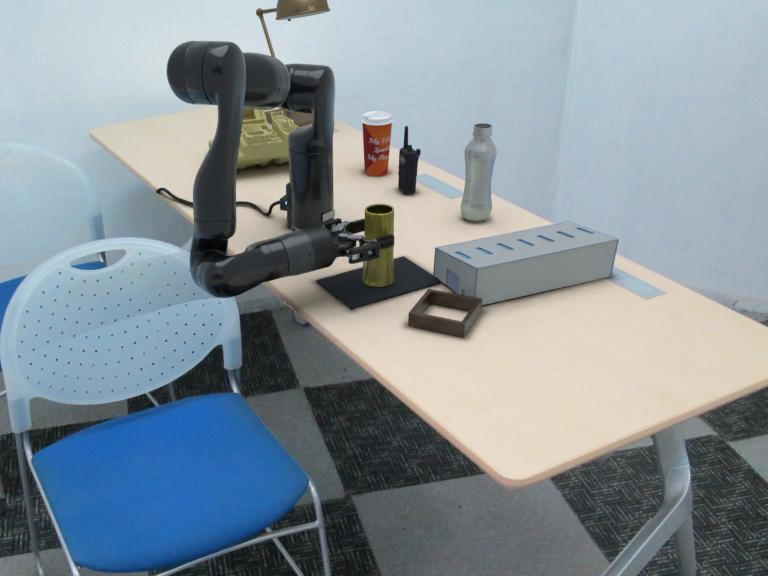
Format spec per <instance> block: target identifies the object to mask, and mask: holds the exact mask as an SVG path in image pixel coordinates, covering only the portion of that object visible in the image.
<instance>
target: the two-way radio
mask: <svg viewBox="0 0 768 576" xmlns="http://www.w3.org/2000/svg"><path fill="white" fill-rule="evenodd" d="M421 153H422V151H421V148H416V149H414V148H413V145H412V144H409V126H408V125H405V126H404V131H403V147H400V149H399V152H398V171H397V172H398V173H397V175H398V179H397V180H398V181H397V183H398V184H397V189H398V190H399V191H400V192H401V193H403V194H404V195H413V194H415V193H416V189H417V177H418V165H419V160H420V159H419V158H420V156H421Z"/></svg>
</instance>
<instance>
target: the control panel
mask: <svg viewBox="0 0 768 576" xmlns="http://www.w3.org/2000/svg"><path fill="white" fill-rule="evenodd" d="M270 111H271V110H270ZM265 112H266V111H265V110H257V109H250V108H245V107H244V112H243V121H242V130H241V138H240V146H239V153H238V161H237V170H244V169H246V168H253V167H256V165H259V167H266V166H267V165H268V164H274V165H277V166H278V165H284V163H289V156H288V135H289V133H290V132H291V131H293V130H295V129H297V128H299V127H298V126H297V125H295V124H294V121H293V120H290V119H289V118H287V117H286V116H284V115H283V110H281V111H279V112H272V111H271V112H270V114H271V119H272V123H271V126H270V124H269V122H268V121H267V118H266V115H265ZM274 113H281V115H279V114H278V115H273V114H274ZM212 141H213V139H209V140H208V149H209V148H210V146H211V144H212Z"/></svg>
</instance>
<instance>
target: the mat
mask: <svg viewBox="0 0 768 576" xmlns="http://www.w3.org/2000/svg"><path fill="white" fill-rule="evenodd" d="M362 274H363V266H362V267H359V268H355V269H352V270H348V271H345V272H341V273H337V274H333V275H329V276H325V277H323V278H319V279H315V283H317V284H318V285H319V286H320V287H321V288H323V289H325V290H326V291H327V292H328V293H329V294H331V295H332V296H333V297H334V298H336V299H337V300H338V301H340V302H341V303H342V304H343V305H345V306H346V307H347V308H348V309H350V310H354V309H358V308H361V307H364V306H368V305H371V304H375V303H378V302H382V301H385V300H388V299H389V300H390V299H393V298H395V297H399V296H403V295H406V294H409V293H412V292H417V291H419V290H423V289H426V288H431V287H433V286H436V285H440V284H443V282H442V281H440V280H439V279H438V278H437V277H435V276H434V275H433V274H432V273H431V272H429V271H427V270H426V269H424V268H422V267H421V266H419V265H418V264H416V263H415V262H413V261H412V260H410V259H409V258H407V257H405V256H399V257H396V258H394V282H393V283H392V284H391V285H389V286H387V287H381V288H377V287H370V286H367V285H365V284H364V283H363V282H362Z"/></svg>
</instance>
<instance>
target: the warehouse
mask: <svg viewBox="0 0 768 576" xmlns="http://www.w3.org/2000/svg"><path fill="white" fill-rule="evenodd" d="M619 240H620V238H617V237H615V236H612V235H608V234H606V233H603V232H601V231H597V230H594V229H592V228H589V227H586V226H584V225H580V224H578V223H575V222H572V221H564V222H558V223H553V224H548V225H543V226H537V227H533V228H528V229H523V230H518V231H517V230H516V231H512V232H507V233H502V234H498V235H497V234H496V235H492V236H487V237H482V238H476V239H471V240H466V241H462V242H461V241H460V242H455V243H452V244H446V245H445V244H444V245H440V246H435V247H434V257H433V269H432V270H433V272H432V273H433V274H432V275H434V276H435V277H437V278H438V279H439V280H440V281H442V284H444V285H445V286H448V288H450V289H451V290H452V291H453V292H455V294H460V295H465V296H471V297H476V298H481V299H482V306H485V305H489V304H490V305H491V304H494V303H499V302H503V301H509V300H512V299H516V298H521V297H525V296H529V295H534V294H539V293H543V292H549V291H552V290H557V289H563V288H566V287H570V286H575V285H579V284H584V283H589V282H592V281H598V280H602V279H607V278H611V277H612V275H613V270H614V266H615V260H616V255H617V251H618V245H619V242H620V241H619Z"/></svg>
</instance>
